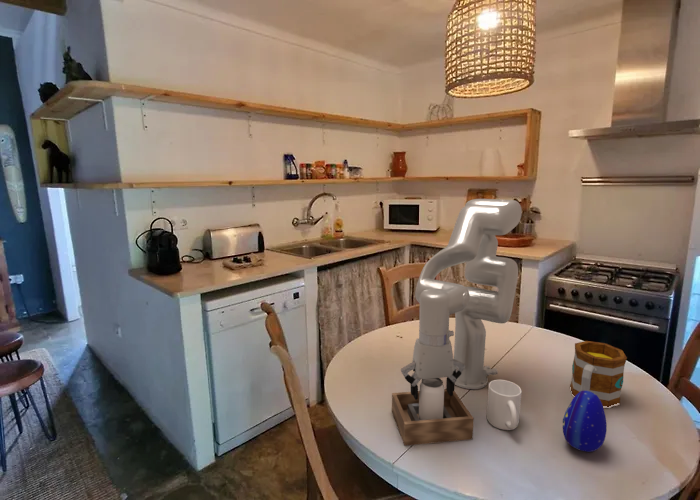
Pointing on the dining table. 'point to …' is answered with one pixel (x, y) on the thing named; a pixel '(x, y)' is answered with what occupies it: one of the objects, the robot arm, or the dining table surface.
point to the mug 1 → (503, 404)
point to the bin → (431, 431)
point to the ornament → (585, 422)
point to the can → (431, 399)
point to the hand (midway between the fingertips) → (432, 394)
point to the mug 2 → (598, 371)
